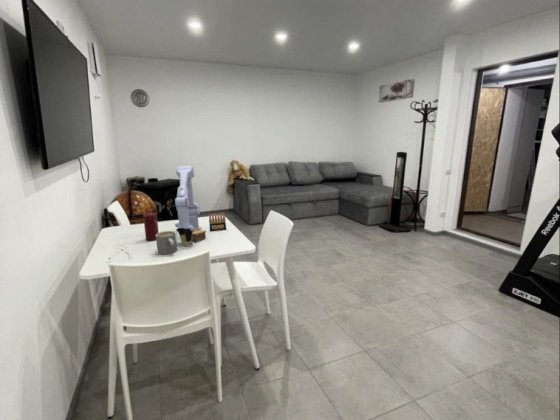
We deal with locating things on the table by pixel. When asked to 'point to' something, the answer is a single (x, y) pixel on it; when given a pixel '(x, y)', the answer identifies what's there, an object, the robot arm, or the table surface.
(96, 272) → the table surface
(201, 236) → the wooden box
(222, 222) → the ammunition clip
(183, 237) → the tan wooden block
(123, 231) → the table surface
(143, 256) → the table surface
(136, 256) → the table surface
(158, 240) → the coffee mug
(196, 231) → the lid
